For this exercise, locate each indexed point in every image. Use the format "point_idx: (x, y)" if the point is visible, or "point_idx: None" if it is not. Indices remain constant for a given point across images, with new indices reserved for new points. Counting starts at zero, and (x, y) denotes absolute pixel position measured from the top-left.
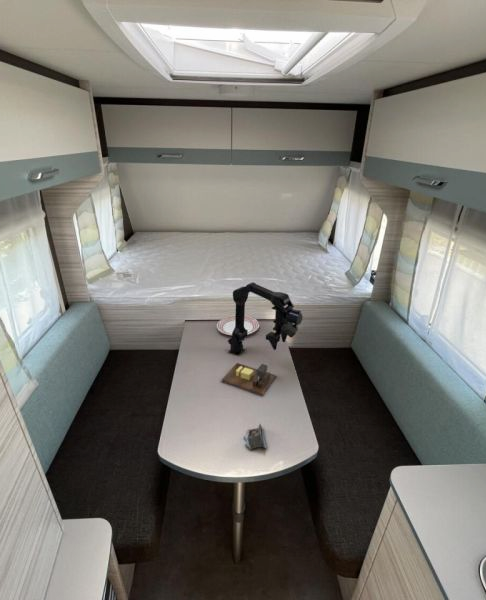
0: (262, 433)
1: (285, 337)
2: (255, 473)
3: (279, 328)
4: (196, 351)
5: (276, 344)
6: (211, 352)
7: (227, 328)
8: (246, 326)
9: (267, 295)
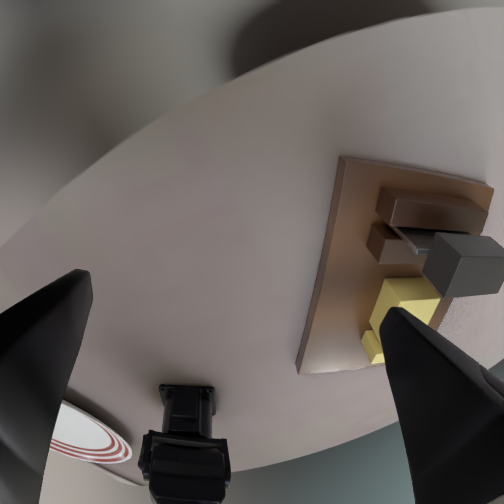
0: None
1: (32, 338)
2: None
3: None
4: (263, 454)
5: (490, 380)
6: (247, 437)
7: (88, 440)
8: None
9: None
